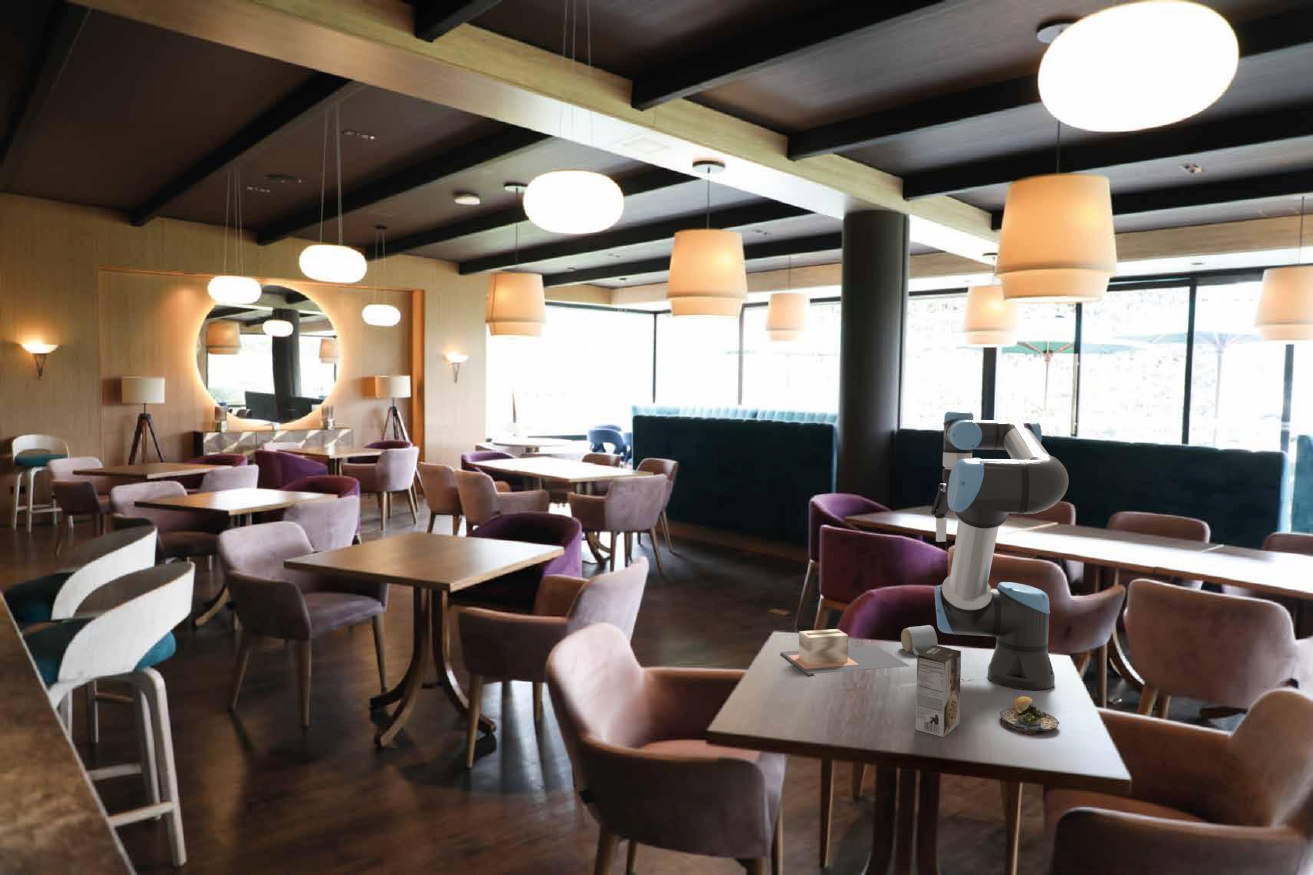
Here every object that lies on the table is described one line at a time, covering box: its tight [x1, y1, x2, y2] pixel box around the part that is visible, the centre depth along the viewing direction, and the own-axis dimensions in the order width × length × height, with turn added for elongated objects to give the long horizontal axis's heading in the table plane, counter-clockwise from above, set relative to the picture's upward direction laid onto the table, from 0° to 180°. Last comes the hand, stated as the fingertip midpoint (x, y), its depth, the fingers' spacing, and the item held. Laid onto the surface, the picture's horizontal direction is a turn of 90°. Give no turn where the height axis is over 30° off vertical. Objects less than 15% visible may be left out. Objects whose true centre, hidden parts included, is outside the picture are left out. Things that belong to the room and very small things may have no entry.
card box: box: [798, 628, 849, 665], centre depth 221 cm, size 11×6×7 cm, turn 104°
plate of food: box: [998, 688, 1061, 736], centre depth 181 cm, size 12×12×8 cm
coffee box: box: [915, 644, 962, 738], centre depth 179 cm, size 9×6×16 cm
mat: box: [780, 644, 911, 677], centre depth 223 cm, size 18×28×1 cm, turn 104°
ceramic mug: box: [900, 624, 939, 657], centre depth 229 cm, size 10×8×7 cm
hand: (955, 545), depth 233 cm, fingers open, 13 cm apart
